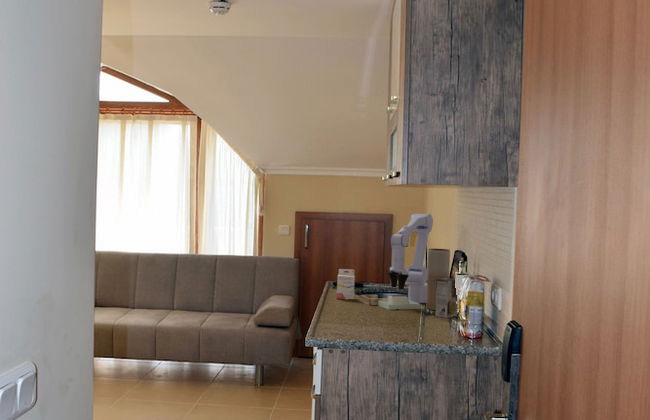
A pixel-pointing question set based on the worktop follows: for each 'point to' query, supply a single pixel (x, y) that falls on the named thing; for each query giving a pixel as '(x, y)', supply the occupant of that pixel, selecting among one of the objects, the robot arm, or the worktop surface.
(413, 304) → the tray
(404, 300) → the block
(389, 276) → the robot arm
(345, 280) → the ink cartridge box
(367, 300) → the frame
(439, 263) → the tall taupe carton
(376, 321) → the worktop surface
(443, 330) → the worktop surface
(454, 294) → the coffee box
